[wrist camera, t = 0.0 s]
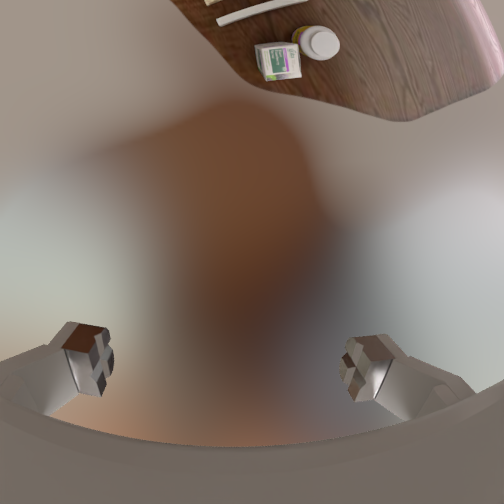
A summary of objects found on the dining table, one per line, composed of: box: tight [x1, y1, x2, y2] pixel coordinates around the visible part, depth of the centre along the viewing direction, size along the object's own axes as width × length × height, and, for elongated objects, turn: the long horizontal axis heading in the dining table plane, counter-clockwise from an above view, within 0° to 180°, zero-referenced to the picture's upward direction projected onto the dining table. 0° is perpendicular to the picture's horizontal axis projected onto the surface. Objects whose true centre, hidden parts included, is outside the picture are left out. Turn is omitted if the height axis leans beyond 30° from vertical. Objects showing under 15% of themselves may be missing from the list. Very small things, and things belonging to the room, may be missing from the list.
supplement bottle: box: [291, 26, 340, 60], centre depth 37 cm, size 7×7×13 cm
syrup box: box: [255, 42, 302, 81], centre depth 39 cm, size 6×6×14 cm
